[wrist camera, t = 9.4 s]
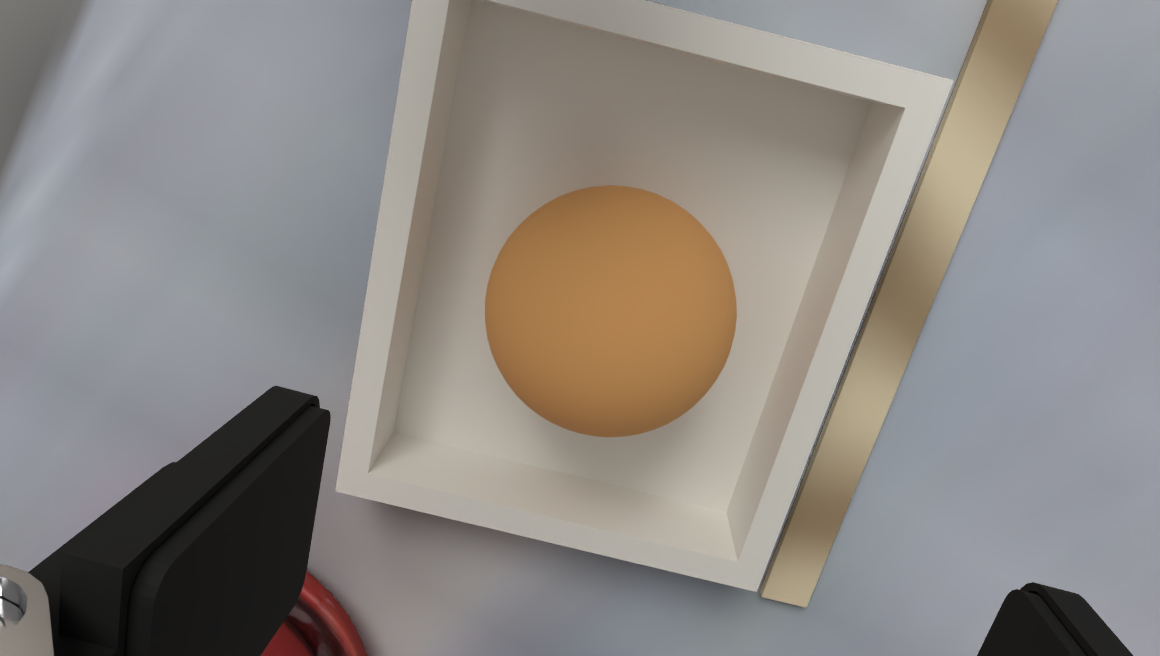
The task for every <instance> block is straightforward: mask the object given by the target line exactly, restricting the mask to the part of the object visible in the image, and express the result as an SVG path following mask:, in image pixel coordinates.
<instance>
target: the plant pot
mask: <svg viewBox="0 0 1160 656" xmlns="http://www.w3.org/2000/svg"><path fill="white" fill-rule="evenodd" d="M261 656H367V654H366V651H365V649H364V646H363V644H362V641H361V639H360V637H359V635H358V633H357V630H356V628H355V626H354V625H353V623H352V621H351V620H350V618H349V616H348V615H347V613H346V612H345V610H344V609H343V608H342V606H341V605H340V604H339V603H338V601H337V600H336V599H335V598H334V597H333V595H332V594H331V593H330V592H329V591H328V590H327V589H326V588H325V587H324V586H323V585H322V584H321V583H320V582H319V581H318V580H317V579H316V578H315V577H313V576H312V575H311V574H310V573H308V572H307V571H306V576H305V581H304V585H303V588H302V591H301V593H300V596H299V598H298V600H297V602H296V604H295V606H294V607H293V609H292V610H291V612H290V613H289V615H288V616H287V618H286V619H285V621H284V622H283V624H282V625H281V626H280V628H279V629H278V631H277V632H276V634H275V635H274V637H273V638H272V640H271V641H270V643H269V644H268V645H267V647H266V648H265V650H264V651H263V653H262V654H261Z"/></svg>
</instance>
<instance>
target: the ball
mask: <svg viewBox="0 0 1160 656" xmlns="http://www.w3.org/2000/svg"><path fill="white" fill-rule="evenodd" d="M736 320H737V303H736V295H735V289H734V283H733V279H732V276H731V273H730V270H729V266H728V264H727V262H726V259H725V257H724V255H723V253H722V251H721V249H720V248H719V246H718V245H717V243H716V242H715V240H714V239H713V237H712V236H711V235H710V233H709V232H708V231H707V230H706V229H705V228H704V227H703V225H702V224H701V223H700V222H699V221H698V220H697V219H696V218H694V217H693V216H692V215H691V214H690V213H689V212H688V211H686V210H685V209H683V208H682V207H680V206H679V205H677V204H676V203H674V202H673V201H671V200H669V199H666V198H664V197H662V196H660V195H658V194H655V193H652V192H649V191H646V190H643V189H638V188H633V187H627V186H613V185H607V186H594V187H588V188H584V189H579V190H575V191H572V192H570V193H567V194H564V195H561V196H559V197H557V198H555V199H553V200H551V201H550V202H548V203H546V204H544V205H543V206H542V207H540V208H539V209H537V210H536V211H534V212H533V213H532V214H530V215H529V216H528V217H527V218H526V219H525V220H524V221H523V222H522V223H521V224H520V225H519V226H518V227H517V228H516V229H515V230H514V232H513V233H512V234H511V235H510V236H509V238H508V239H507V241H506V242H505V244H504V246H503V247H502V249H501V250H500V252H499V254H498V257H497V259H496V261H495V264H494V266H493V268H492V271H491V274H490V278H489V281H488V285H487V290H486V298H485V325H486V332H487V338H488V342H489V346H490V349H491V353H492V355H493V358H494V360H495V362H496V365H497V367H498V369H499V370H500V372H501V374H502V375H503V377H504V379H505V381H506V382H507V384H508V385H509V386H510V388H511V389H512V390H513V392H514V393H515V394H516V395H517V396H518V397H519V398H520V399H521V400H522V401H523V402H524V403H525V404H526V405H527V406H528V407H529V408H530V409H532V410H533V411H534V412H535V413H537V414H538V415H539V416H541V417H543V418H544V419H546V420H548V421H549V422H551V423H553V424H555V425H558V426H560V427H562V428H564V429H567V430H570V431H573V432H577V433H580V434H585V435H590V436H597V437H625V436H631V435H637V434H642V433H645V432H648V431H652V430H655V429H657V428H659V427H662V426H664V425H666V424H669V423H670V422H672V421H674V420H675V419H677V418H679V417H680V416H682V415H683V414H685V413H686V412H687V411H688V410H690V409H691V408H692V407H694V406H695V405H696V404H697V403H698V402H699V401H700V400H701V399H702V398H703V396H704V395H705V394H706V393H707V392H708V391H709V389H710V388H711V387H712V385H713V384H714V383H715V381H716V380H717V378H718V377H719V375H720V373H721V371H722V370H723V368H724V366H725V363H726V361H727V358H728V356H729V354H730V350H731V346H732V343H733V339H734V335H735V329H736Z"/></svg>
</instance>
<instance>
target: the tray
mask: <svg viewBox="0 0 1160 656" xmlns="http://www.w3.org/2000/svg"><path fill="white" fill-rule="evenodd" d="M953 81H954V80H950V79H947V78H943V77H939V76H935V75H931V74H927V73H924V72H920V71H916V70H912V69H908V68H904V67H900V66H897V65H893V64H889V63H885V62H881V61H877V60H873V59H870V58H866V57H862V56H858V55H854V54H850V53H847V52H843V51H839V50H835V49H831V48H827V47H823V46H820V45H816V44H812V43H808V42H804V41H800V40H797V39H793V38H789V37H785V36H781V35H777V34H773V33H770V32H766V31H762V30H758V29H754V28H750V27H746V26H743V25H739V24H735V23H731V22H727V21H723V20H720V19H716V18H712V17H708V16H704V15H700V14H696V13H693V12H689V11H685V10H681V9H677V8H673V7H669V6H666V5H662V4H658V3H654V2H650V1H646V0H412V5H411V12H410V18H409V24H408V31H407V37H406V43H405V50H404V56H403V63H402V69H401V75H400V82H399V88H398V94H397V101H396V107H395V114H394V120H393V126H392V133H391V139H390V145H389V152H388V158H387V165H386V171H385V177H384V184H383V190H382V196H381V203H380V209H379V216H378V222H377V228H376V235H375V241H374V247H373V254H372V260H371V267H370V273H369V279H368V286H367V292H366V298H365V305H364V311H363V318H362V324H361V330H360V337H359V343H358V349H357V356H356V362H355V369H354V375H353V381H352V388H351V394H350V400H349V407H348V413H347V420H346V426H345V432H344V439H343V445H342V451H341V458H340V464H339V471H338V477H337V483H336V490H335V491H336V492H340V493H344V494H348V495H352V496H357V497H361V498H365V499H369V500H373V501H377V502H382V503H386V504H390V505H394V506H398V507H403V508H407V509H411V510H415V511H419V512H424V513H428V514H432V515H436V516H440V517H444V518H449V519H453V520H457V521H461V522H465V523H470V524H474V525H478V526H482V527H486V528H491V529H495V530H499V531H503V532H507V533H511V534H516V535H520V536H524V537H528V538H532V539H537V540H541V541H545V542H549V543H553V544H558V545H562V546H566V547H570V548H574V549H578V550H583V551H587V552H591V553H595V554H599V555H604V556H608V557H612V558H616V559H620V560H625V561H629V562H633V563H637V564H641V565H645V566H650V567H654V568H658V569H662V570H666V571H671V572H675V573H679V574H683V575H687V576H692V577H696V578H700V579H704V580H708V581H712V582H717V583H721V584H725V585H729V586H733V587H738V588H742V589H746V590H750V591H754V592H757V590H758V587H759V585H760V582H761V580H762V577H763V574H764V572H765V569H766V567H767V564H768V561H769V559H770V556H771V554H772V551H773V548H774V546H775V543H776V541H777V538H778V535H779V533H780V530H781V528H782V525H783V522H784V520H785V517H786V515H787V512H788V509H789V507H790V504H791V502H792V499H793V496H794V494H795V491H796V489H797V486H798V483H799V481H800V478H801V476H802V473H803V470H804V468H805V465H806V463H807V460H808V457H809V455H810V452H811V450H812V447H813V444H814V442H815V439H816V437H817V434H818V431H819V429H820V426H821V424H822V421H823V418H824V416H825V413H826V411H827V408H828V406H829V403H830V400H831V398H832V395H833V393H834V390H835V387H836V385H837V382H838V380H839V377H840V374H841V372H842V369H843V367H844V364H845V361H846V359H847V356H848V354H849V351H850V348H851V346H852V343H853V341H854V338H855V335H856V333H857V330H858V328H859V325H860V322H861V320H862V317H863V315H864V312H865V309H866V307H867V304H868V302H869V299H870V296H871V294H872V291H873V289H874V286H875V283H876V281H877V278H878V276H879V273H880V270H881V268H882V265H883V263H884V260H885V257H886V255H887V252H888V250H889V247H890V244H891V242H892V239H893V237H894V234H895V231H896V229H897V226H898V224H899V221H900V218H901V216H902V213H903V211H904V208H905V206H906V203H907V200H908V198H909V195H910V193H911V190H912V187H913V185H914V182H915V180H916V177H917V174H918V172H919V169H920V167H921V164H922V161H923V159H924V156H925V154H926V151H927V148H928V146H929V143H930V141H931V138H932V135H933V133H934V130H935V128H936V125H937V122H938V120H939V117H940V115H941V112H942V109H943V107H944V104H945V102H946V99H947V96H948V94H949V91H950V89H951V86H952V83H953ZM607 185H613V186H627V187H633V188H638V189H643V190H646V191H649V192H652V193H655V194H658V195H660V196H662V197H664V198H666V199H669V200H671V201H673V202H674V203H676V204H677V205H679V206H680V207H682V208H683V209H685V210H686V211H688V212H689V213H690V214H691V215H692V216H693V217H694V218H696V219H697V220H698V221H699V222H700V223H701V224H702V225H703V227H704V228H705V229H706V230H707V231H708V232H709V233H710V235H711V236H712V237H713V239H714V240H715V242H716V243H717V245H718V246H719V248H720V249H721V251H722V253H723V255H724V257H725V259H726V262H727V264H728V266H729V270H730V273H731V276H732V279H733V283H734V289H735V295H736V303H737V320H736V329H735V335H734V339H733V343H732V346H731V350H730V354H729V356H728V358H727V361H726V363H725V366H724V368H723V370H722V371H721V373H720V375H719V377H718V378H717V380H716V381H715V383H714V384H713V385H712V387H711V388H710V389H709V391H708V392H707V393H706V394H705V395H704V396H703V398H702V399H701V400H700V401H699V402H698V403H697V404H696V405H695V406H694V407H692V408H691V409H690V410H688V411H687V412H686V413H685V414H683V415H682V416H680V417H679V418H677V419H675V420H674V421H672V422H670V423H669V424H666V425H664V426H662V427H659V428H657V429H655V430H652V431H648V432H645V433H642V434H637V435H631V436H625V437H597V436H590V435H585V434H580V433H577V432H573V431H570V430H567V429H564V428H562V427H560V426H558V425H555V424H553V423H551V422H549V421H548V420H546V419H544V418H543V417H541V416H539V415H538V414H537V413H535V412H534V411H533V410H532V409H530V408H529V407H528V406H527V405H526V404H525V403H524V402H523V401H522V400H521V399H520V398H519V397H518V396H517V395H516V394H515V393H514V392H513V390H512V389H511V388H510V386H509V385H508V384H507V382H506V381H505V379H504V377H503V375H502V374H501V372H500V370H499V369H498V367H497V365H496V362H495V360H494V358H493V355H492V353H491V349H490V346H489V342H488V338H487V332H486V325H485V298H486V290H487V285H488V281H489V278H490V274H491V271H492V268H493V266H494V264H495V261H496V259H497V257H498V254H499V252H500V250H501V249H502V247H503V246H504V244H505V242H506V241H507V239H508V238H509V236H510V235H511V234H512V233H513V232H514V230H515V229H516V228H517V227H518V226H519V225H520V224H521V223H522V222H523V221H524V220H525V219H526V218H527V217H528V216H529V215H530V214H532V213H533V212H534V211H536V210H537V209H539V208H540V207H542V206H543V205H544V204H546V203H548V202H550V201H551V200H553V199H555V198H557V197H559V196H561V195H564V194H567V193H570V192H572V191H575V190H579V189H584V188H588V187H594V186H607Z"/></svg>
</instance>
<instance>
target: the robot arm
mask: <svg viewBox="0 0 1160 656" xmlns="http://www.w3.org/2000/svg"><path fill="white" fill-rule="evenodd" d="M319 407H320V405H319V399H318V397H317V396H313V395H310V394H306V393H302V392H298V391H294V390H290V389H287V388H283V387H279V386H274V387H272V388H270V389H269V390H268V391H266V392H265V393H264V394H263V395H261V396H260V397H259V398H258V399H256V400H255V401H254V402H252V403H251V404H250V405H249V406H247V407H246V408H245V409H244V410H242V411H241V412H240V413H239V414H237V415H236V416H235V417H233V418H232V419H231V420H230V421H228V422H227V423H226V424H225V425H223V426H222V427H221V428H219V429H218V430H217V431H216V432H214V433H213V434H212V435H211V436H209V437H208V438H207V439H206V440H204V441H203V442H202V443H200V444H199V445H198V446H197V447H195V448H194V449H193V450H192V451H190V452H189V453H188V454H187V455H185V456H184V457H183V458H181V459H180V460H179V461H178V462H172V463H170V464H168V465H167V466H165V467H163V468H162V469H160V470H159V471H158V472H157V473H155V474H154V475H153V476H151V477H150V478H149V479H148V480H146V481H145V482H144V483H142V484H141V485H140V486H139V487H137V488H136V489H135V490H133V491H132V492H131V493H130V494H128V495H127V496H126V497H124V498H123V499H122V500H121V501H119V502H118V503H117V504H115V505H114V506H113V507H112V508H110V509H109V510H108V511H106V512H105V513H104V514H103V515H101V516H100V517H99V518H97V519H96V520H95V521H94V522H92V523H91V524H90V525H88V526H87V527H86V528H85V529H83V530H82V531H81V532H79V533H78V534H77V535H76V536H74V537H73V538H72V539H70V540H69V541H68V542H67V543H65V544H64V545H63V546H61V547H60V548H59V549H58V550H56V551H55V552H54V553H52V554H51V555H50V556H49V557H47V558H46V559H45V560H43V561H42V562H41V563H40V564H38V565H37V566H36V567H34V568H33V569H32V570H31V571H29V572H25V571H23V570H20V569H17V568H14V567H11V566H8V565H0V656H261V654H262V653H263V651H264V650H265V648H266V647H267V645H268V644H269V643H270V641H271V640H272V638H273V637H274V635H275V634H276V632H277V631H278V629H279V628H280V626H281V625H282V624H283V622H284V621H285V619H286V618H287V616H288V615H289V613H290V612H291V610H292V609H293V607H294V606H295V604H296V602H297V600H298V598H299V596H300V593H301V591H302V588H303V585H304V581H305V576H306V570H307V564H308V558H309V551H310V545H311V539H312V533H313V526H314V520H315V514H316V507H317V501H318V495H319V489H320V482H321V476H322V470H323V463H324V457H325V451H326V445H327V438H328V432H329V426H330V412H329V410H325V409H321V408H319ZM977 656H1133V655H1132V654H1131V652H1130V651H1129V650H1128V649H1127V648H1126V647H1125V646H1124V644H1123V643H1122V642H1121V641H1120V640H1119V639H1118V637H1117V636H1116V635H1115V634H1114V633H1113V632H1112V631H1111V629H1110V628H1109V627H1108V626H1107V625H1106V624H1105V622H1104V621H1103V620H1102V619H1101V618H1100V617H1099V616H1098V614H1097V613H1096V612H1095V611H1094V610H1093V609H1092V607H1091V606H1090V605H1089V604H1088V603H1087V602H1086V601H1085V599H1084V598H1082V597H1081V596H1080V595H1079V594H1076V593H1072V592H1068V591H1064V590H1060V589H1056V588H1053V587H1049V586H1045V585H1041V584H1037V583H1033V582H1032V583H1028V584H1026V585H1025V586H1023V587H1022V588H1021V589H1020V590H1018V589H1016V590H1012V591H1011V592H1010V593H1009V594H1008V595H1007V596H1006V598H1005V600H1004V602H1003V604H1002V606H1001V608H1000V610H999V612H998V614H997V616H996V618H995V620H994V622H993V624H992V626H991V628H990V630H989V632H988V634H987V637H986V639H985V641H984V643H983V645H982V647H981V649H980V651H979V653H978V655H977Z"/></svg>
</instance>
